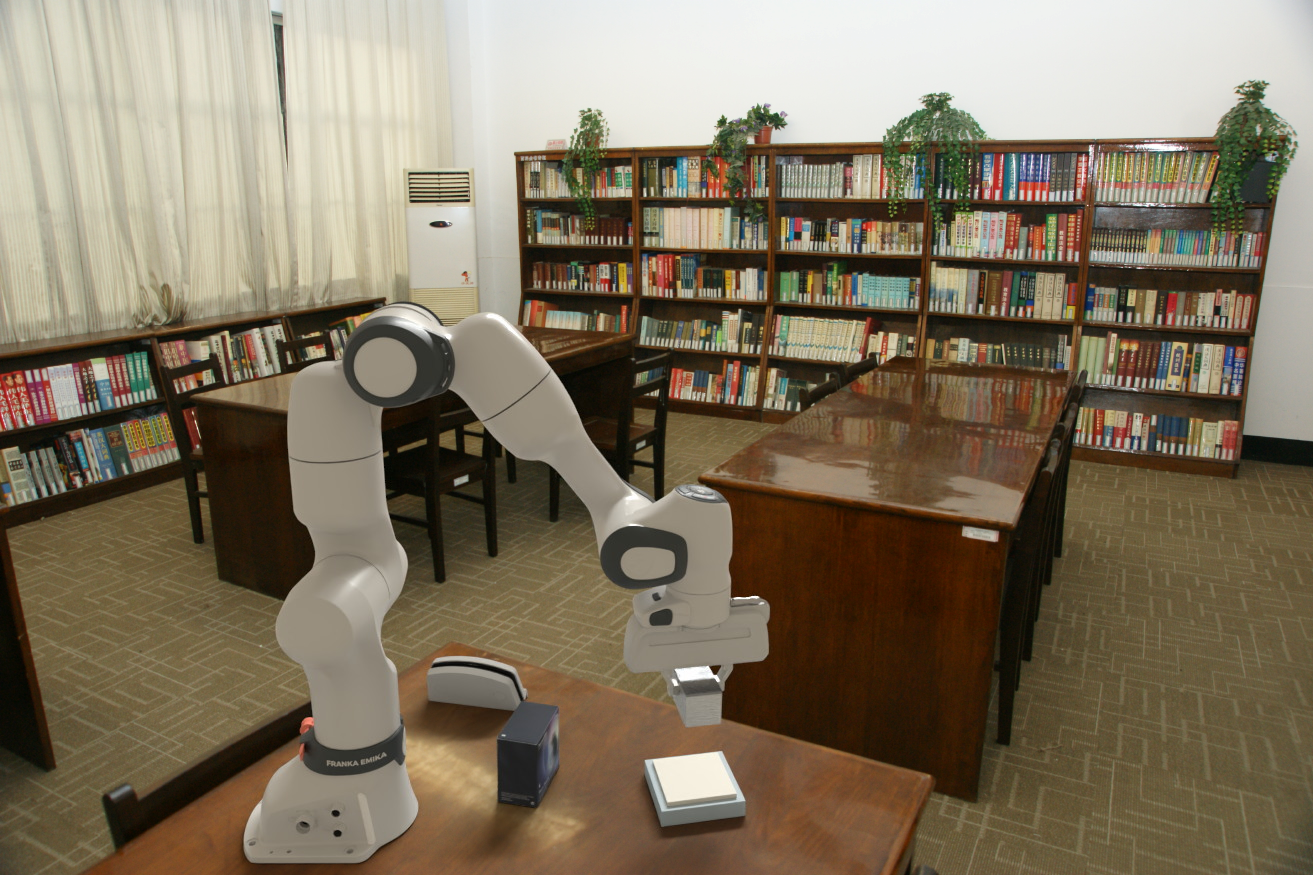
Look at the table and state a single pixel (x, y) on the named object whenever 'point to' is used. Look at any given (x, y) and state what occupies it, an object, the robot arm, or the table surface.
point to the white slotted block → (475, 683)
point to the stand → (693, 788)
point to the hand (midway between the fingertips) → (695, 691)
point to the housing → (698, 696)
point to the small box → (528, 754)
